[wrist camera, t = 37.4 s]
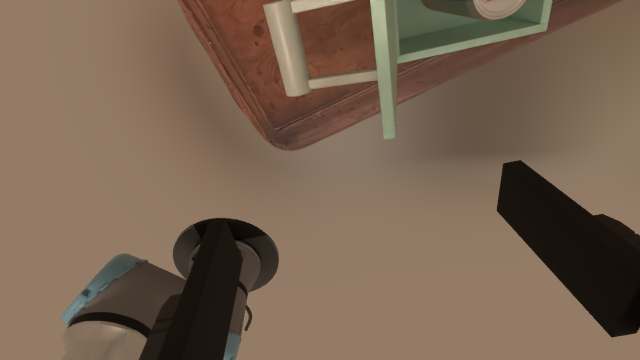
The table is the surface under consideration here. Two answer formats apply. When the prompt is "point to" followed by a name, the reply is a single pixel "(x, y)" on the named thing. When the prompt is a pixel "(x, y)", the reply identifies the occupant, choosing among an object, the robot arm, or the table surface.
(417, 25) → the box
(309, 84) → the cooler lid
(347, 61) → the table surface
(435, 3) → the beverage can
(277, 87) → the table surface
